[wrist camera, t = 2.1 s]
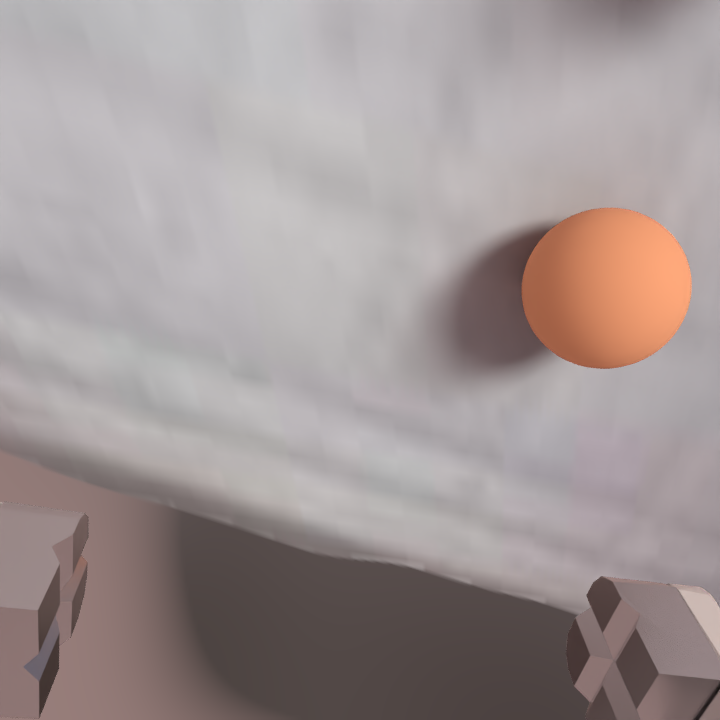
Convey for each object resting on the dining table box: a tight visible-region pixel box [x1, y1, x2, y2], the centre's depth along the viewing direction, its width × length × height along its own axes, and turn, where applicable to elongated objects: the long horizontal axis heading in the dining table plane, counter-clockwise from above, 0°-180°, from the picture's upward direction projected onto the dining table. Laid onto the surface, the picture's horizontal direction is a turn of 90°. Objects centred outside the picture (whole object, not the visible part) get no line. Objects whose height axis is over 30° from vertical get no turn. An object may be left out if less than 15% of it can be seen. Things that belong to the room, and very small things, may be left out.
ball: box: [522, 208, 691, 369], centre depth 24 cm, size 6×6×6 cm
